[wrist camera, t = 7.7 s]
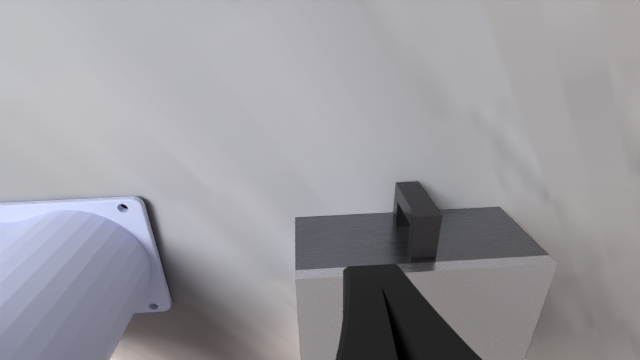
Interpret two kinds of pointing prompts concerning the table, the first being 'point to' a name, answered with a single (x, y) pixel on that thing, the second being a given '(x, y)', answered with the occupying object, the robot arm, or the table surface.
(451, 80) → the table surface
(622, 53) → the table surface
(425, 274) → the press
